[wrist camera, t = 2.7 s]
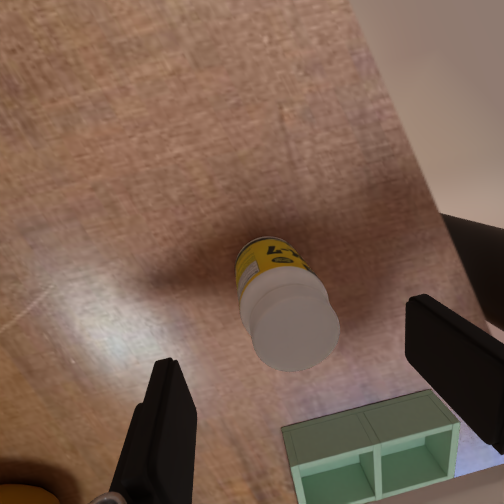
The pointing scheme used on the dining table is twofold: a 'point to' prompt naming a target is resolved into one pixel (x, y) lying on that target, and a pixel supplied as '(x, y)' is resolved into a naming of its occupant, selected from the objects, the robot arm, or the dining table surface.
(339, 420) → the tray
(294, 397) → the dining table surface
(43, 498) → the apple
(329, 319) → the supplement bottle
